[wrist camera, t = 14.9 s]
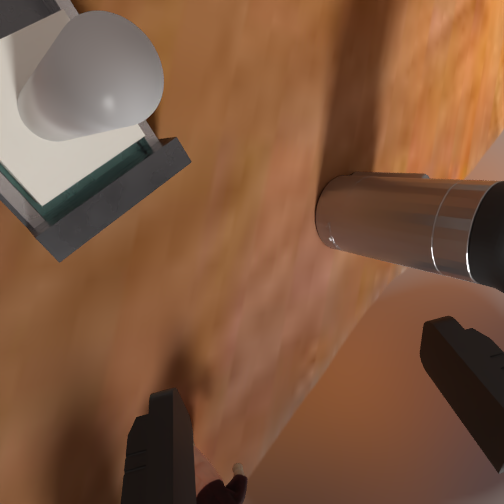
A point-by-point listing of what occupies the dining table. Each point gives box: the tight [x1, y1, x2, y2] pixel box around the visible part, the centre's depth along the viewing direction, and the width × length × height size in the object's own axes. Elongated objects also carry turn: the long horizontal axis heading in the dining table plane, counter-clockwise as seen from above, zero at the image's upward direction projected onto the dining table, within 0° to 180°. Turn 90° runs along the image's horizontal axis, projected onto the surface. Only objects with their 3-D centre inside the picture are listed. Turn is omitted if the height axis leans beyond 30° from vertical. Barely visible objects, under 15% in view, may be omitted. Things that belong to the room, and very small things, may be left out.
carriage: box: [0, 9, 164, 206], centre depth 18 cm, size 8×8×15 cm
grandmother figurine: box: [193, 442, 247, 504], centre depth 33 cm, size 8×4×13 cm, turn 103°
